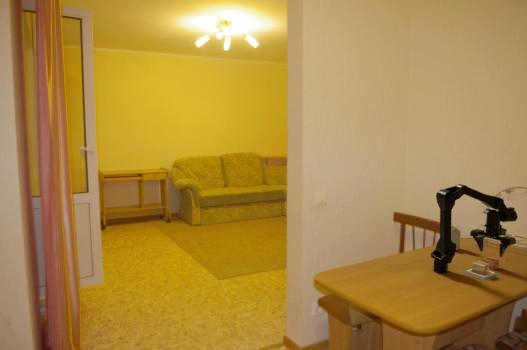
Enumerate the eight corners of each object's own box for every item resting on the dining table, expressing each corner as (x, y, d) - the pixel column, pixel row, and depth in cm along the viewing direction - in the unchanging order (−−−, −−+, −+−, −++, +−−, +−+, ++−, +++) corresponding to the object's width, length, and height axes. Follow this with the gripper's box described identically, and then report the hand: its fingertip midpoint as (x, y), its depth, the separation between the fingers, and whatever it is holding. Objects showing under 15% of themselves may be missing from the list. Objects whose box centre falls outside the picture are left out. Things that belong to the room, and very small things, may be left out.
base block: (482, 276, 175) (483, 266, 175) (471, 273, 180) (472, 262, 179) (488, 274, 178) (489, 264, 177) (478, 270, 182) (478, 260, 181)
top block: (492, 272, 183) (493, 261, 182) (482, 268, 187) (482, 258, 187) (498, 269, 186) (499, 259, 185) (488, 266, 190) (488, 256, 189)
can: (462, 250, 213) (463, 229, 211) (448, 251, 213) (449, 230, 211) (455, 246, 220) (456, 226, 218) (442, 246, 220) (443, 226, 219)
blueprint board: (485, 283, 171) (485, 279, 170) (460, 274, 181) (460, 270, 181) (500, 277, 177) (500, 273, 176) (475, 269, 187) (475, 265, 187)
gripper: (523, 224, 179) (520, 256, 182) (483, 216, 195) (481, 245, 197) (510, 227, 174) (508, 261, 176) (470, 219, 190) (468, 249, 192)
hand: (491, 254), depth 185 cm, fingers open, 9 cm apart
